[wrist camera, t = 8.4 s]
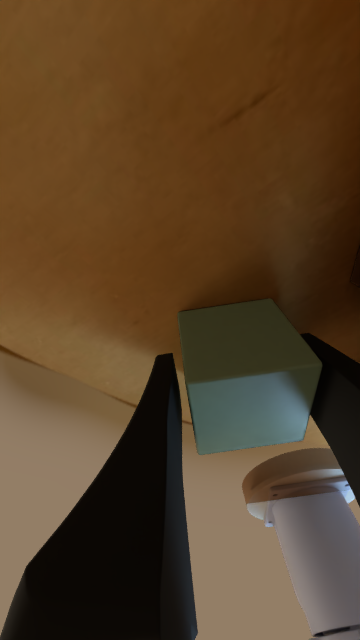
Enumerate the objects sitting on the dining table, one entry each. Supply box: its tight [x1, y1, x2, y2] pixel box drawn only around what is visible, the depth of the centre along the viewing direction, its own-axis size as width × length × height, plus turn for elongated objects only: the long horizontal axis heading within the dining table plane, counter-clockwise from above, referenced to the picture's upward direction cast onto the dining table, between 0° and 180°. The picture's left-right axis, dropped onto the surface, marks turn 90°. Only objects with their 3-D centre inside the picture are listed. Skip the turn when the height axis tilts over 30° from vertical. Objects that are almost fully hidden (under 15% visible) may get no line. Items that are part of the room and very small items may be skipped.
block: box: [177, 298, 323, 455], centre depth 10 cm, size 4×4×4 cm
